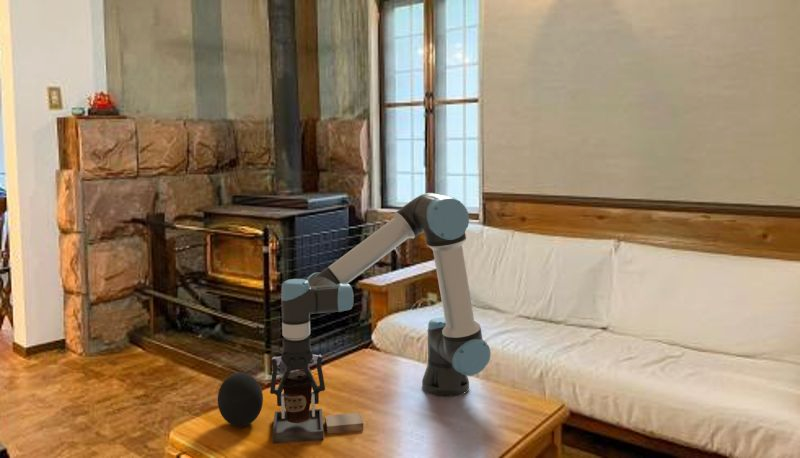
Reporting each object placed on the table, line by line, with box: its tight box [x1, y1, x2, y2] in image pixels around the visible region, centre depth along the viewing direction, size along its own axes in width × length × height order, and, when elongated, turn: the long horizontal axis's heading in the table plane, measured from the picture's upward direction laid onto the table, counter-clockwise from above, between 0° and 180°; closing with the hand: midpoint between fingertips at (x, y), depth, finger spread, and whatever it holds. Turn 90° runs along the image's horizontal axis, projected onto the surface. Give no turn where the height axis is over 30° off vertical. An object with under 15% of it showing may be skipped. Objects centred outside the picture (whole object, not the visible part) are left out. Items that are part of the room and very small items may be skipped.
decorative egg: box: [217, 372, 264, 427], centre depth 183 cm, size 12×12×15 cm
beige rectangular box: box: [324, 412, 364, 434], centre depth 183 cm, size 10×7×2 cm
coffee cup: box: [283, 370, 313, 423], centre depth 180 cm, size 9×8×13 cm
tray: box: [272, 408, 325, 444], centre depth 181 cm, size 13×14×2 cm
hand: (298, 415), depth 181 cm, fingers closed on coffee cup, 8 cm apart
